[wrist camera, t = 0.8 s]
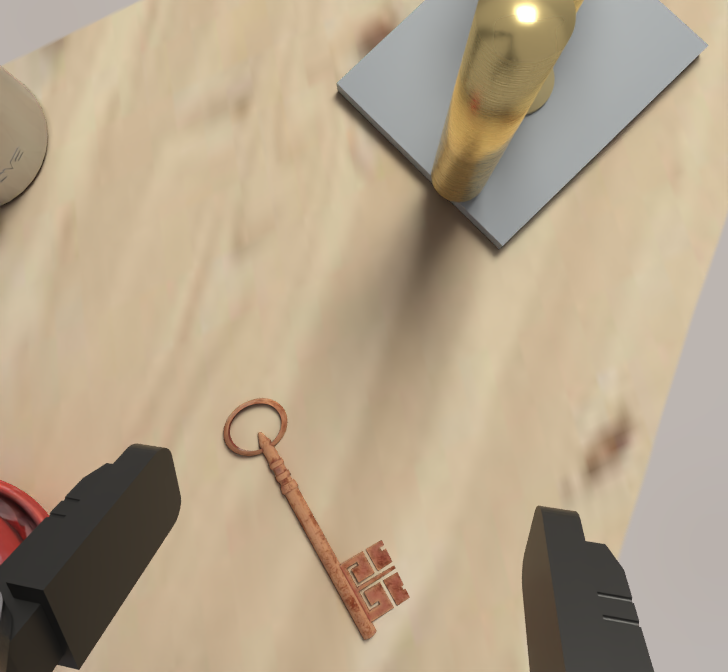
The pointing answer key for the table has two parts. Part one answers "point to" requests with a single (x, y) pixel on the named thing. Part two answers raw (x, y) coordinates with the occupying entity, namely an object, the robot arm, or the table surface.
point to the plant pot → (16, 518)
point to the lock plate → (549, 109)
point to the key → (320, 544)
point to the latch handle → (497, 87)
